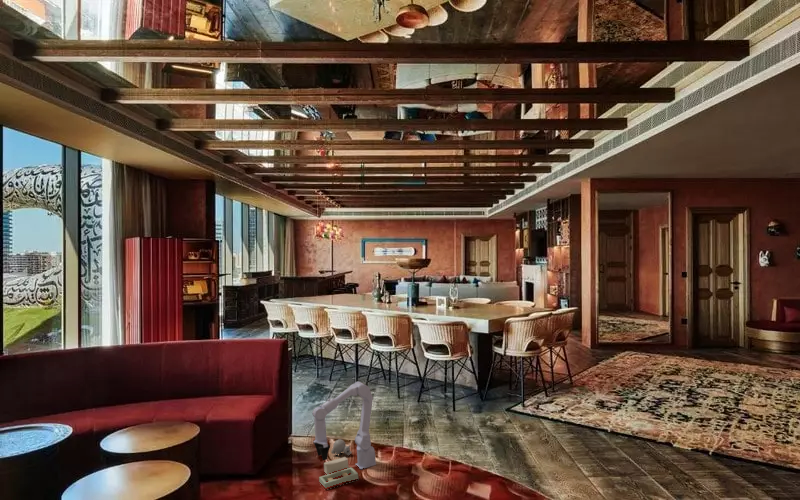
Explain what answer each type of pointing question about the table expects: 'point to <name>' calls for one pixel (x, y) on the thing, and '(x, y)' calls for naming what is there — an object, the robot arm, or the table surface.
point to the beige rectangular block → (335, 465)
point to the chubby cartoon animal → (340, 447)
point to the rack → (336, 481)
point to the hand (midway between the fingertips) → (322, 457)
